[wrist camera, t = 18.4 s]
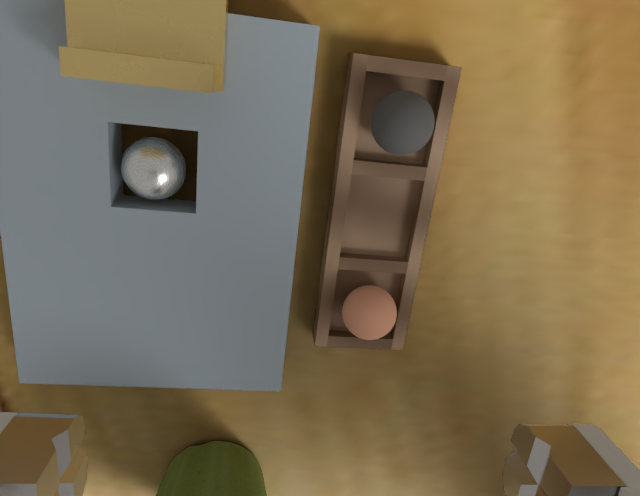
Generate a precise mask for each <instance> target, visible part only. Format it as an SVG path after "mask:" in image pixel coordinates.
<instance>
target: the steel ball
mask: <svg viewBox="0 0 640 496" xmlns="http://www.w3.org/2000/svg"><path fill="white" fill-rule="evenodd" d="M121 174H122V177H123V180H124V182H125V183H126V185H127V186H128V187H129V189H130V190H131V191H133V192H134V193H135V194H137V195H138V196H141V197H143V198H146V199H150V200H160V199H165V198H167V197H170V196H172V195H173V194H175V193H176V192H177V191H178V190H179V189H180V188H181V186H182V185H183V183H184V180H185V177H186V163H185V159H184V157H183V155H182V153H181V152H180V150H179V149H178V148H177V147H176V146H175V145H174V144H172V143H171V142H169V141H167V140H165V139H162V138H159V137H145V138H141V139H139V140H137V141H135V142H133V143H132V144H131V145H130V146H129V147H128V148H127V149H126V151H125V152H124V154H123V156H122V160H121Z"/></svg>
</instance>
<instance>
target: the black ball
mask: <svg viewBox="0 0 640 496" xmlns="http://www.w3.org/2000/svg"><path fill="white" fill-rule="evenodd" d="M434 124H435V119H434V113H433V110H432V108H431V106H430V104H429V103H428V101H427V100H426V99H425V98H424V97H422V96H421V95H419V94H418V93H415V92H413V91H408V90H401V91H395V92H393V93H390V94H388V95H387V96H385V97H384V98H383V99H382V100H380V102H379V103H378V104H377V105H376V107H375V109H374V111H373V114H372V117H371V131H372V135H373V137H374V139H375V141H376V143H377V144H378V145H379V146H380V147H381V148H382V149H383V150H385V151H386V152H389V153H391V154H394V155H408V154H412V153H415V152H416V151H418V150H420V149H421V148H422V147H423V146H425V145H426V143H427V142H428V141H429V139H430V138H431V136H432V133H433V130H434Z"/></svg>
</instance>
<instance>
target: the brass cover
mask: <svg viewBox="0 0 640 496" xmlns="http://www.w3.org/2000/svg"><path fill="white" fill-rule="evenodd" d="M65 16H66V32H67V47H66V46H59V60H60V75H61V76H64V77H73V78H82V79H90V80H99V81H108V82H117V83H125V84H134V85H143V86H151V87H160V88H169V89H178V90H186V91H195V92H204V93H214V92H215V91H220V92H223V91H224V88H225V66H226V44H227V22H228V0H65Z"/></svg>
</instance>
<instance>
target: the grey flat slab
mask: <svg viewBox="0 0 640 496" xmlns="http://www.w3.org/2000/svg"><path fill="white" fill-rule="evenodd" d="M319 32H320V26H317V25H310V24H303V23H295V22H288V21H281V20H274V19H266V18H259V17H252V16H245V15H237V14H230V13H228V22H227V44H226V66H225V88H224V91H223V92H220V91H215V92H214V93H204V92H195V91H186V90H178V89H169V88H160V87H151V86H143V85H134V84H125V83H117V82H108V81H99V80H90V79H82V78H73V77H64V76H61V75H60V60H59V46H66V47H67V32H66V16H65V0H0V234H1V242H2V250H3V258H4V266H5V274H6V282H7V290H8V298H9V306H10V314H11V322H12V330H13V338H14V346H15V353H16V361H17V369H18V377H19V383H26V384H58V385H90V386H122V387H154V388H186V389H218V390H250V391H281V385H282V376H283V366H284V357H285V348H286V339H287V329H288V320H289V311H290V301H291V292H292V283H293V273H294V264H295V255H296V246H297V236H298V227H299V218H300V208H301V199H302V190H303V180H304V171H305V162H306V153H307V143H308V134H309V125H310V115H311V106H312V97H313V87H314V78H315V69H316V59H317V50H318V41H319ZM122 124H132V125H142V126H151V127H161V128H171V129H180V130H190V131H198V156H197V192H196V201H191V200H179V199H168V198H165V199H160V200H150V199H146V198H143V197H141V196H132V195H124V191H123V177H122V174H121V160H122V156H123V155H122Z"/></svg>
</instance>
